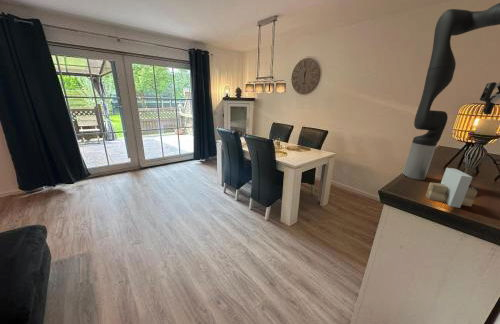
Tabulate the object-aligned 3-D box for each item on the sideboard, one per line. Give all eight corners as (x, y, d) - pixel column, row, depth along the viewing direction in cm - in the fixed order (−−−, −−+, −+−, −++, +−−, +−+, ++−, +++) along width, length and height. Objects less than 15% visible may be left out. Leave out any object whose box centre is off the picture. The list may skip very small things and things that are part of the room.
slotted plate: (436, 195, 83) (446, 167, 80) (445, 196, 82) (455, 168, 79) (449, 206, 74) (461, 175, 71) (460, 207, 73) (472, 177, 70)
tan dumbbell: (425, 195, 82) (430, 182, 80) (466, 202, 78) (472, 188, 76) (428, 199, 79) (433, 185, 77) (471, 206, 75) (477, 191, 73)
